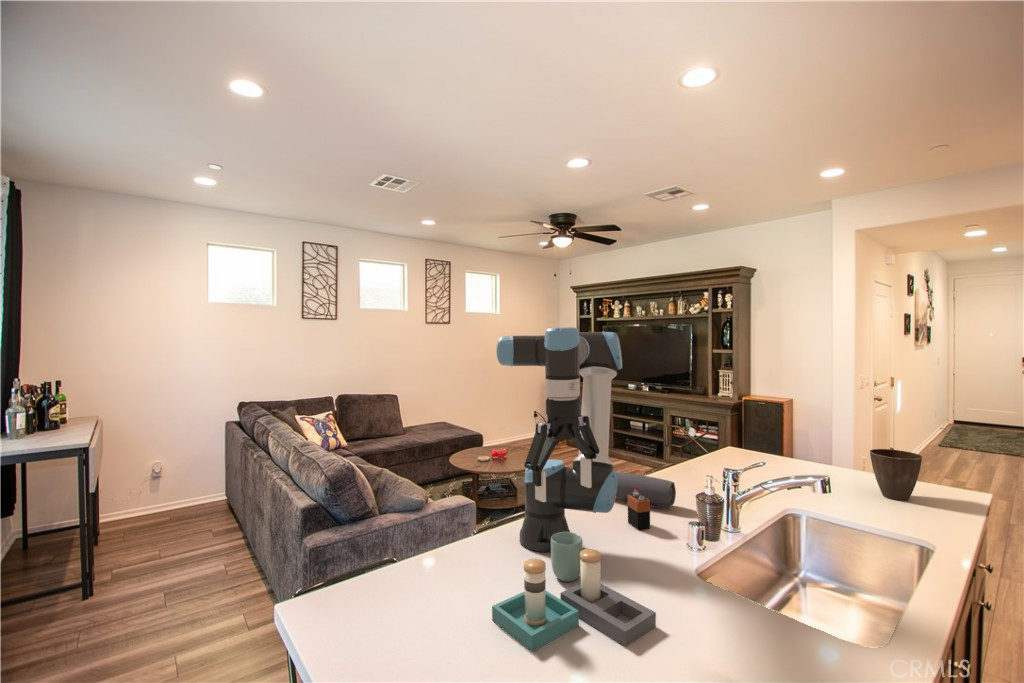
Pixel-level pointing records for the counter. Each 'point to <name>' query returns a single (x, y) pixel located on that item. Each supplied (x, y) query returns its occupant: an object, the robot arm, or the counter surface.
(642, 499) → the battery
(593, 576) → the cylinder
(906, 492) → the plant pot
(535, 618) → the fuse
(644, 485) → the bluetooth speaker
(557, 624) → the parts tray
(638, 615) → the fuse holder
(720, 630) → the counter surface
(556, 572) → the cup
